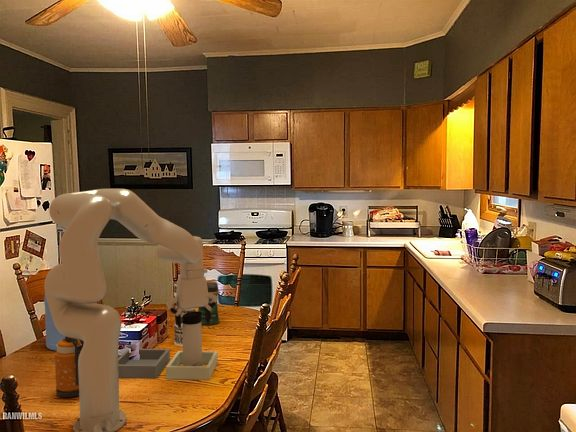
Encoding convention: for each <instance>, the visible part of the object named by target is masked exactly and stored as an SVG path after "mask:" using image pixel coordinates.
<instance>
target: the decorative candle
mask: <svg viewBox="0 0 576 432" xmlns="http://www.w3.org/2000/svg"><path fill="white" fill-rule="evenodd" d="M173 286H174V292H173V297H172V299H173V298H175V297H176V289H177V281H176V282H175V283H174V284H173ZM173 305H174V306H172V307H173V308H174V309H176V308H177V305H176V302H175V303H174V304H173ZM195 311H197V310H196V309H195V308H191V309H183V310H182V312H181V313H180V316H181V328H179V327H178V326H177V325H176V324H175V323H174V325H173V328H174V330H173V332H174V334H173V337H174V338H173V341H174V342H173V343H174V345H175V346H179V347H183V332H182V325H183V324H182V321H183V320H182V318H183V317H182V316H183V315H185V314H186V313H189V312H195ZM173 315H174V316H175V314H174V313H173Z"/></svg>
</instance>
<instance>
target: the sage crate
mask: <svg viewBox="0 0 576 432" xmlns="http://www.w3.org/2000/svg"><path fill="white" fill-rule="evenodd" d="M218 354H219V353H218V351H216V350H215V351H211V350H202V364H207V365H206V366H205V365H202V366H183V365H181V364H183V350H177V352H176V353H175V354H174V356H173V357H172V358H171V359H170V361H169V362H168V363H167V365H166V366H165V370H166V371H165V372H166V374H165V375H166V380H190V381H191V380H196V381H197V380H201V381H203V380H205V381H207V380H209V381H210V379H211V378H212V376H213V374H214V371H215V370H216V367H217V365H218V363H219V362H218V361H219V359H218V358H219V355H218Z"/></svg>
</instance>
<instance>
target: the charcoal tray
mask: <svg viewBox="0 0 576 432" xmlns="http://www.w3.org/2000/svg"><path fill="white" fill-rule="evenodd" d="M138 349H139V354H140V359H139V360H129V350H125V351H124V352H123V353H122V354H121V355H119V356H118V372H119V379H157V378H158V377H159V375H160V374H161V372H162V371H163V370H164V369H165V368H166V367H167V365H168V364H169V363H170V361H171V352H170V351H171V349H170V348H138Z"/></svg>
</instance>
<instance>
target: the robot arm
mask: <svg viewBox="0 0 576 432" xmlns="http://www.w3.org/2000/svg"><path fill="white" fill-rule="evenodd" d="M48 211H49V216H50V218H51V219H52V220H51V221H53V222H54V223H55V224H56V225H58V226H61V227H65V230H64V232H63V235H62V236H61V239H60V241H59V242H60V243H59V248H58V249H59V250H58V251H59V257H60V262H61V263H60V264H57V265H54V266H53V267H52V268H51V269H50V270H49V271H48V272H47V274H46V276H45V280H44V287H43V288H44V295H45V294H46V298H47V301H48V305H49V308H50V311H51V315H52V318H53V321H54V324H55V326H56V328H57V330H58V331H59V332H60V333H61V334H62V335H64V336H67V337H70V338H75V339H79V340H82V341H84V345H83V348H82V350H81V352H80V354H79V358H78V374H79V395H78V400H79V402H78V403H79V418H77V419H76V420H75V421H74V423H73V432H116V431H119V430H120V429H121V428H122V427H123V426H124V425H125V423H126V422H127V414H126V413H125V411H123V410H121V409H120V378H119V372H118V358H119V341H120V334H121V330H122V317H121V315H120V313H119V312H118V310H117V309H116V308H113V307H112V306H110V305H107V304H102V303H98V302H100V301H101V300H103V298H104V297H105V295H106V293H107V284H106V283H107V282H106V278H105V275H104V270H103V265H102V262H101V259H100V258H101V257H100V252H99V246H98V243H99V238H100V236H101V234H102V232H103V230H104V229H105V227H106V225H107V224H108V222H109V221H110V220H114V221H117V222H119V223H120V224H121V225H122V226H124V227H125V228H126V230H128V231H129V232H131V233H132V234H133V235H134V236H135V237H137V238H138V239H140V240H142V241H144V242H147V243H150V244H153V245H157V246H156V251H155V252H156V255H157V257H158V259H160V260H161V261H162V262H165V263H169V264H170V263H171V264H179V270H180V271H179V276H180V277H179V278H177V281H176V282H177V289H176V297H175V298H173V297H172V299H170V300H169V301H167V302H166V303H165V304H166V306H167V308H168V310H169V311H170V312H171V313H172V314H173V315H174V314H175V315H174V325H175V324H176V325H177V326H178V327H179V328H181V316H180V313H181V312H182V310H183V309H191V308H194V309H195V308H196V309H197V308H199V307H203V306H204V307H205V308H206V309H205V321H206V322H207V323H210V319H211V310H212V308H213V307H214V306H215V304H216V301H217V302H218V299H219V297H218V296H216V295H213V294H211V293H208V288H207V283H208V282H207V278H206V276H205V274H206V273H208V269H207V268H204V250H203V249H204V248H203V246H204V243H203V239H202V238H201V237H200V236H196V235H192V234H191V233H190V232H189V231H188V230H186V229H185V228H182V227H181V226H178V225H177V224H175V223H173V222H171V221H170V220H168V219H165V218H163V217H161V216H159V215H158V214H157V213H156V212H155V211H154V210H153V209H152V208H151V207H150V206H148V204H146V202H145V201H143V199H141V198H140V197H139V196H138V195H137V194H136V193H135V192H134V191H132V190H130V189H126V188H98V189H91V190H86V191H85V190H84V191H76V192H70V193H69V192H68V193H62V194H60V195H57V196H56V197H55V198H53V200H52V201H51V202H50V205H49V210H48ZM208 297H210V298H212V301H211V302H210V304H209V305H208V302H209V298H208ZM175 302H176V305H177V308H176V309H174V308H173V307H174V306H173V305H174V303H175Z"/></svg>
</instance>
